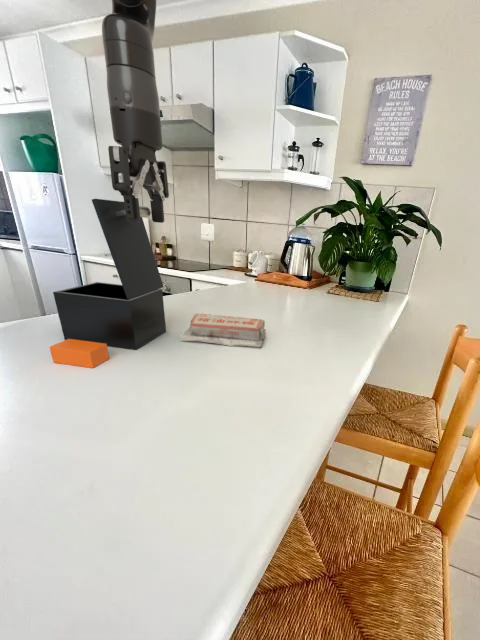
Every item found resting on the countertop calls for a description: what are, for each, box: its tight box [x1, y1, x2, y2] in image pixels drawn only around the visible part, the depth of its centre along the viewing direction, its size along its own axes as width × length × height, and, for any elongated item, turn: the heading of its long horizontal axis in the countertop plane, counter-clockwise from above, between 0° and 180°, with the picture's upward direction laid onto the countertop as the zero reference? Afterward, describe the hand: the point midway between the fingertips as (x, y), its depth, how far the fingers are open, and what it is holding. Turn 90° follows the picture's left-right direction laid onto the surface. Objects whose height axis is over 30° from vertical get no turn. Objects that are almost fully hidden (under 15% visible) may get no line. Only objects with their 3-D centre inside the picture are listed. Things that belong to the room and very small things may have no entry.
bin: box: [52, 281, 167, 351], centre depth 69 cm, size 16×13×10 cm
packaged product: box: [180, 313, 267, 348], centre depth 74 cm, size 18×5×10 cm
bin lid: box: [91, 198, 164, 299], centre depth 62 cm, size 16×13×5 cm
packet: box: [49, 339, 110, 369], centre depth 58 cm, size 8×4×3 cm, turn 82°
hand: (146, 222), depth 60 cm, fingers open, 8 cm apart
